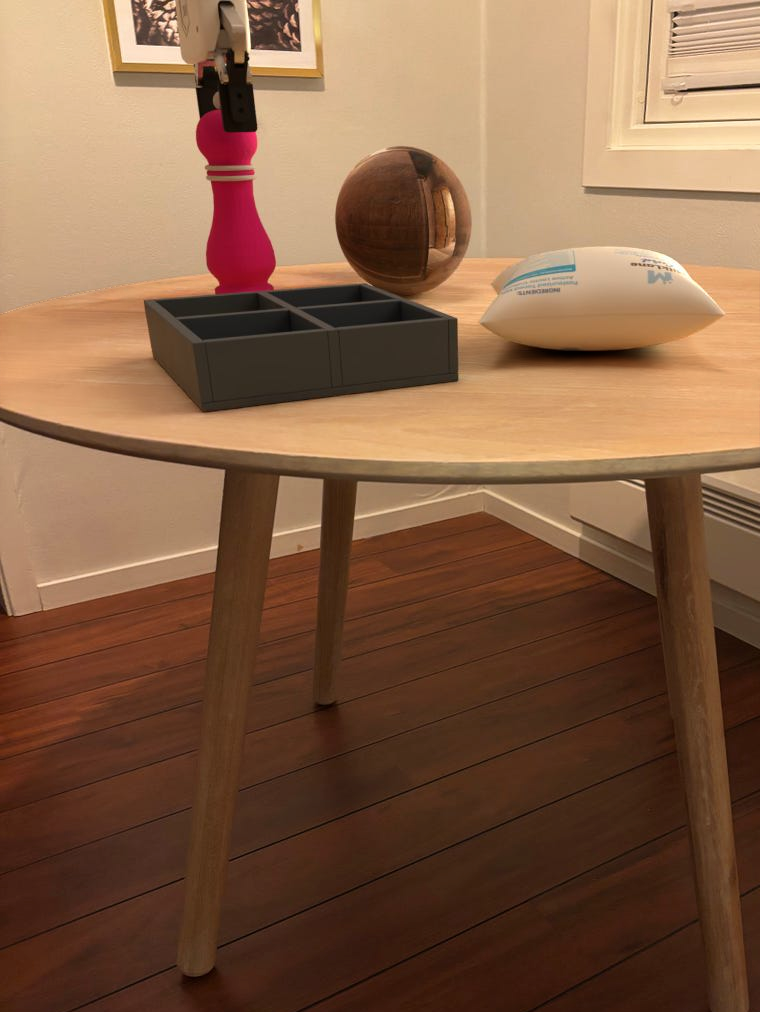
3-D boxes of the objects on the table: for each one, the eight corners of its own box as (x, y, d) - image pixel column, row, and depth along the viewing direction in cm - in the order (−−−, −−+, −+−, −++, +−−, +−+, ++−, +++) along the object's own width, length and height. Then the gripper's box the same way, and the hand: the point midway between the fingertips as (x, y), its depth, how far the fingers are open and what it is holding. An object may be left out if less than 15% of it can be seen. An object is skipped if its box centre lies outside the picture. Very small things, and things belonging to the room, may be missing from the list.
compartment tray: (202, 412, 64) (192, 343, 62) (152, 356, 80) (143, 299, 77) (458, 380, 72) (458, 318, 70) (368, 335, 87) (365, 283, 85)
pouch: (491, 236, 89) (479, 254, 71) (694, 242, 89) (733, 263, 71) (488, 323, 93) (476, 361, 75) (684, 330, 92) (718, 371, 74)
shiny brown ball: (330, 287, 112) (319, 145, 105) (451, 281, 116) (449, 144, 109) (354, 308, 100) (343, 148, 93) (489, 300, 104) (489, 146, 96)
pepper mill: (197, 305, 102) (167, 91, 92) (247, 296, 107) (224, 92, 97) (244, 312, 98) (217, 89, 88) (294, 302, 103) (273, 91, 94)
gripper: (143, -68, 92) (173, 132, 100) (178, -102, 78) (210, 133, 86) (220, -64, 95) (244, 130, 103) (267, -95, 81) (290, 131, 89)
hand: (228, 131), depth 95 cm, fingers open, 9 cm apart
